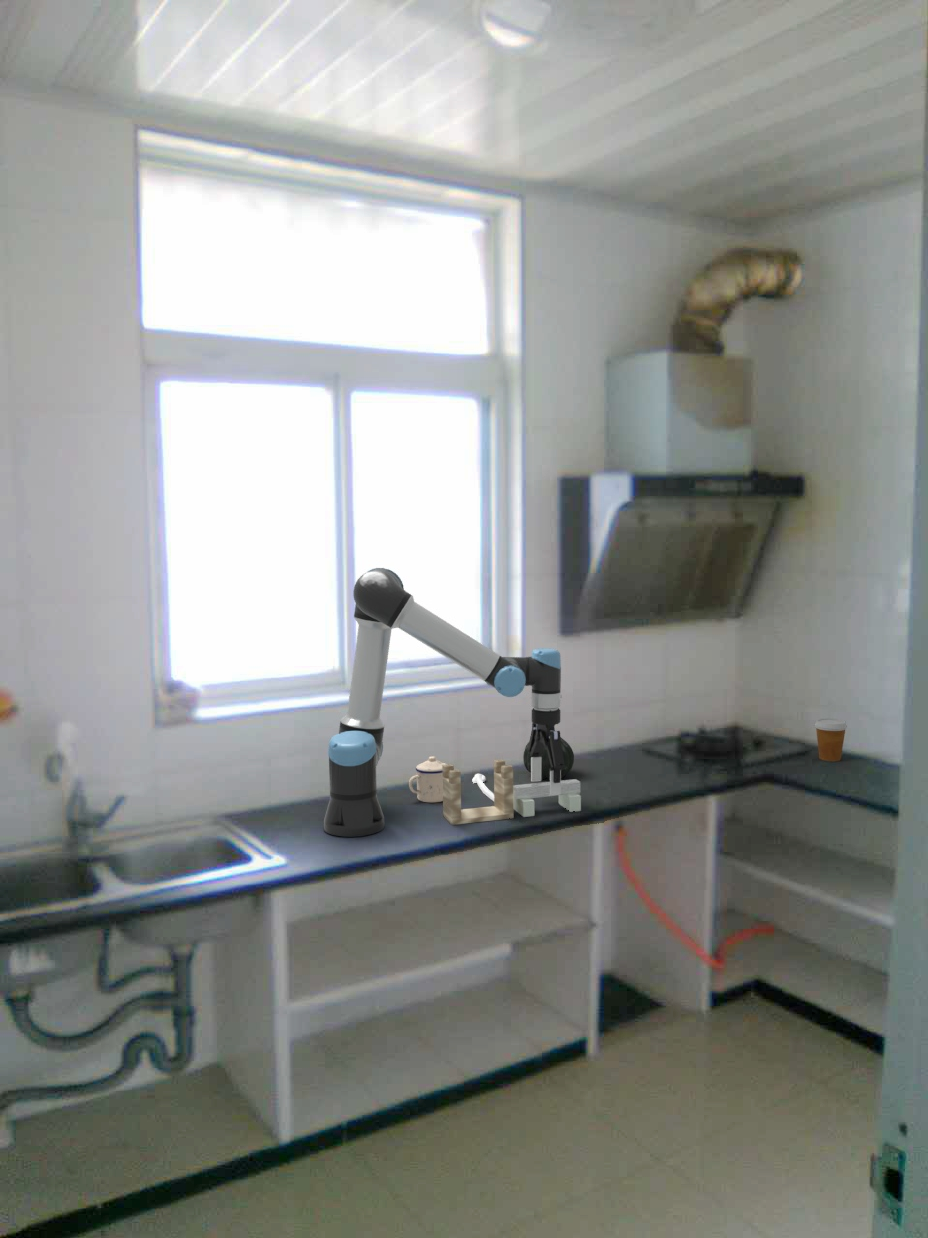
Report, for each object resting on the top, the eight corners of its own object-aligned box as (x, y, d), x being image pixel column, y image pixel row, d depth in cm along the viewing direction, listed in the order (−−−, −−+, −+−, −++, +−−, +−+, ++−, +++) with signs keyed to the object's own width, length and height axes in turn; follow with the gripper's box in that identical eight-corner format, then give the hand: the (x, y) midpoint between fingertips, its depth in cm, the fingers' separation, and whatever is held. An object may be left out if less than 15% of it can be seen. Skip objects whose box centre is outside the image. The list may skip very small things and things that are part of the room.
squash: (559, 749, 306) (533, 717, 299) (590, 760, 293) (565, 727, 286) (531, 784, 301) (504, 753, 294) (562, 797, 289) (535, 765, 282)
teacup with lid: (438, 792, 280) (437, 751, 279) (455, 799, 272) (455, 757, 271) (401, 799, 273) (400, 758, 272) (418, 807, 266) (417, 764, 264)
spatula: (512, 808, 265) (512, 797, 265) (498, 809, 264) (497, 798, 264) (484, 781, 292) (484, 772, 292) (470, 782, 291) (470, 773, 290)
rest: (523, 817, 255) (523, 802, 255) (513, 808, 263) (512, 793, 262) (580, 810, 260) (580, 796, 259) (568, 802, 268) (568, 788, 267)
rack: (451, 824, 250) (450, 772, 248) (443, 815, 257) (442, 765, 256) (513, 818, 254) (513, 766, 253) (503, 809, 262) (502, 759, 261)
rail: (516, 799, 257) (516, 788, 257) (512, 796, 260) (512, 785, 260) (580, 793, 262) (580, 782, 262) (576, 790, 265) (575, 779, 265)
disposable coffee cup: (815, 762, 307) (816, 724, 305) (812, 754, 316) (813, 717, 315) (848, 763, 304) (849, 725, 303) (843, 756, 314) (844, 718, 312)
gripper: (578, 716, 248) (577, 799, 250) (541, 698, 272) (541, 774, 274) (550, 718, 246) (549, 801, 248) (516, 700, 269) (515, 776, 272)
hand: (545, 787), depth 261 cm, fingers open, 13 cm apart
